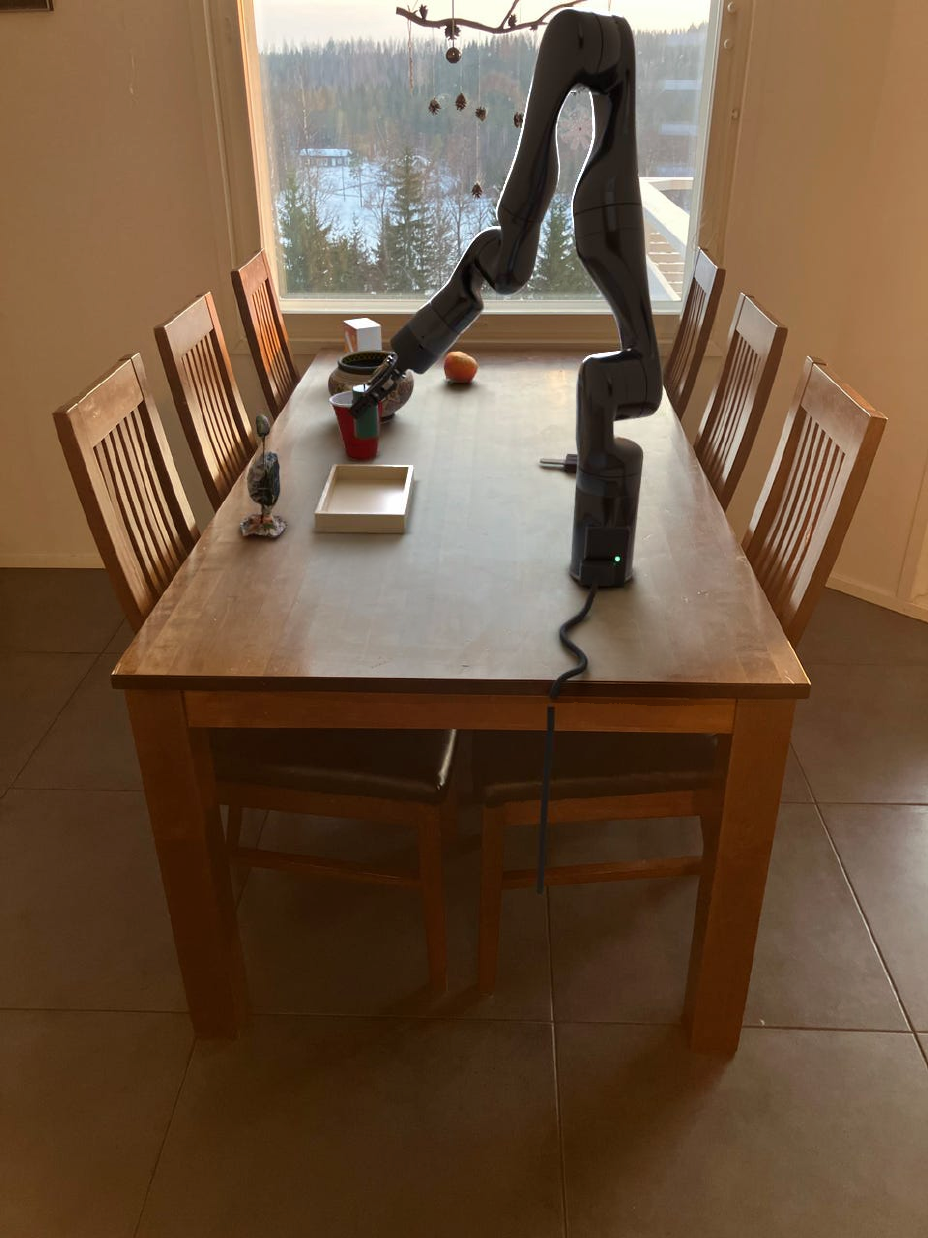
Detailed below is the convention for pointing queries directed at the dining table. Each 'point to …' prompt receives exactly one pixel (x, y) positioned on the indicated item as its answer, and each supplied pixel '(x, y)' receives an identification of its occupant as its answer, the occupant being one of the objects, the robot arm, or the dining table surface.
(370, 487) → the wooden tray
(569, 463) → the ice cream bar
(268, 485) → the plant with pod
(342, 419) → the plastic cup
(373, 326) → the small box
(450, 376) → the fruit
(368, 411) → the green candle
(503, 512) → the dining table surface
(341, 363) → the ceramic bowl
